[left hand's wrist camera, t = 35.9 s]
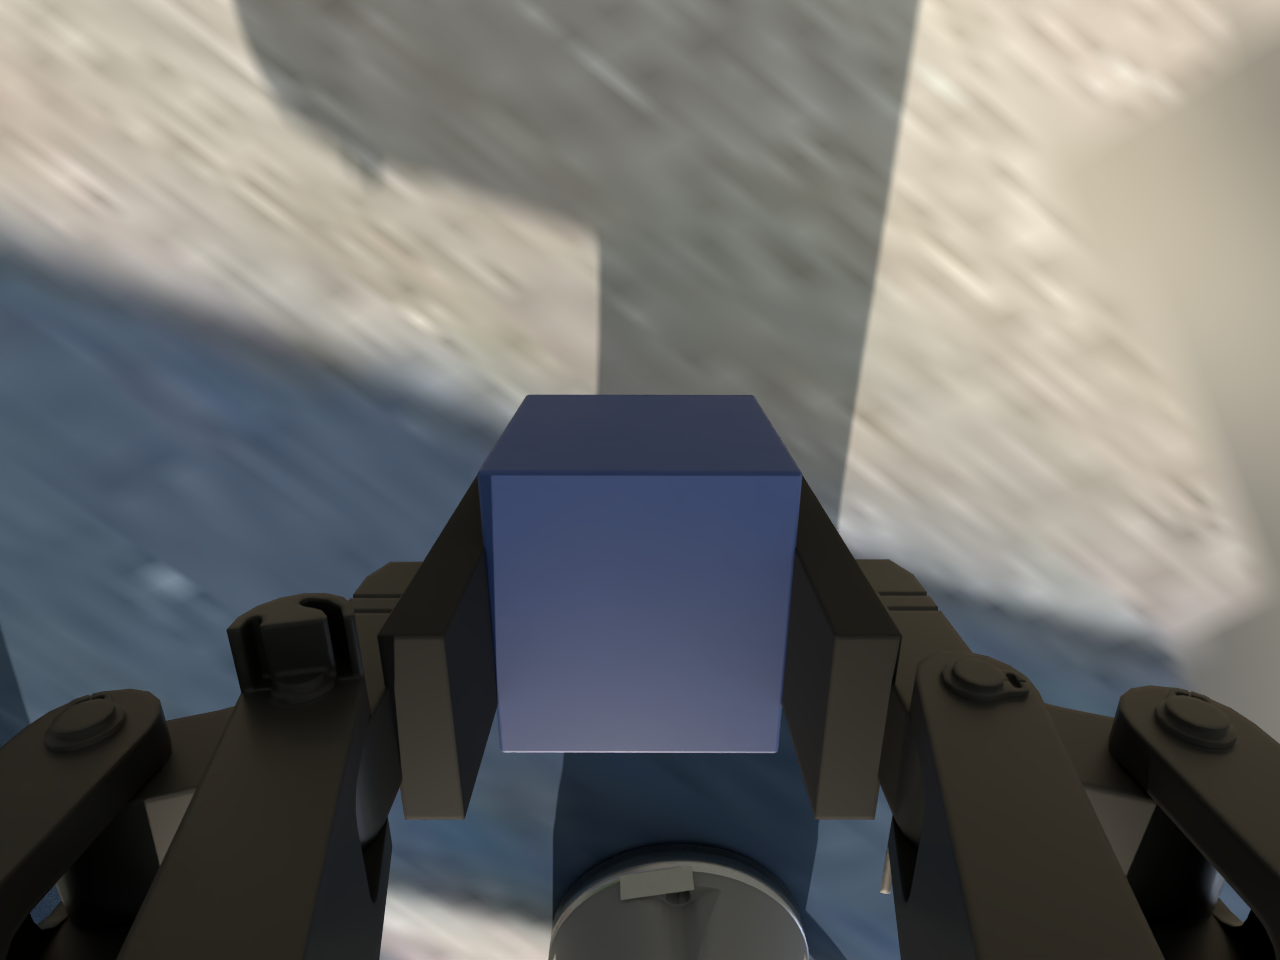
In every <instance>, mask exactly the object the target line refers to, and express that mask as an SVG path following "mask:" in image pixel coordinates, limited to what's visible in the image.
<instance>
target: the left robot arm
mask: <svg viewBox="0 0 1280 960" xmlns="http://www.w3.org/2000/svg"><path fill="white" fill-rule="evenodd" d="M227 634H228V638H229V643H230V647H231V651H232V655H233V659H234V664H235V668H236V672H237V676H238V680H239V685H240V689H241V694H240V697H239V699H238V701H237V703H236V705H235V706H234V707H230V708H226V709H222V710H219V711H214V712H209V713H204V714H199V715H194V716H188V717H183V718H178V719H173V720H168V721H166V720H165V717H164V713H163V710H162V706H161V703H160V700H159V699H158V698H157V697H155V696H154V695H153V694H151V693H150V692H148V691H141V690H135V689H123V690H114V691H103V692H98V693H94V694H92V695H90V696H89V695H86V696H83V697H80V698H77V699H75V700H72V701H71V702H70V703H68V704H65V705H63V706H61V707H59V708H56V709H54V710H52V711H50V712H48V713H47V714H45V715H44V716H42V717H41V718H39V719H37V720H36V721H34V722H33V723H31V724H30V725H28V726H27V727H25V728H24V729H23V730H22V731H21V732H19V733H18V734H17V735H16V736H14V737H13V738H12V739H11V740H10V741H8V742H7V743H6V744H5V745H4V746H2V747H1V748H0V960H379V957H380V948H381V939H382V931H383V922H384V914H385V905H386V896H387V888H388V879H389V870H390V862H391V853H392V841H391V834H390V828H389V822H388V814H389V811H390V809H391V807H392V804H393V802H394V799H395V797H396V795H397V792H398V790H399V787H400V790H401V797H402V803H403V810H404V816H405V820H429V819H465V816H466V812H467V809H468V805H469V802H470V798H471V795H472V791H473V788H474V785H475V781H476V778H477V774H478V771H479V767H480V764H481V760H482V757H483V753H484V750H485V747H486V743H487V740H488V736H489V733H490V729H491V726H492V722H493V719H494V715H495V712H496V708H497V705H498V702H497V690H496V678H495V666H494V655H493V643H492V631H491V619H490V608H489V596H488V584H487V572H486V560H485V549H484V547H483V536H482V524H481V512H480V500H479V488H478V476H476V478H475V479H474V481H473V483H472V484H471V486H470V487H469V489H468V491H467V492H466V494H465V495H464V497H463V499H462V500H461V502H460V503H459V505H458V507H457V508H456V510H455V511H454V513H453V515H452V516H451V518H450V520H449V521H448V523H447V524H446V526H445V528H444V529H443V531H442V532H441V534H440V536H439V537H438V539H437V540H436V542H435V544H434V545H433V547H432V548H431V550H430V552H429V553H428V555H427V556H426V558H425V560H424V561H423V562H390V563H388V564H386V565H385V566H383V567H382V568H380V569H378V570H377V571H375V572H374V573H372V574H371V575H369V576H367V577H366V578H365V580H364V581H363V582H362V584H361V585H360V586H359V588H358V589H357V590H356V592H355V593H354V594H353V598H350V600H349V601H348V600H346V599H345V598H344V597H341V596H337V595H332V594H328V593H303V594H298V595H293V596H288V597H282V598H278V599H276V600H273V601H270V602H267V603H264V604H262V605H259V606H257V607H255V608H253V609H251V610H250V611H248V612H246V613H245V614H243V615H241V616H239V617H238V618H237V619H236V620H235V621H234V622H233V623H232V624H231V625H230V626H229V628H228V629H227ZM782 707H783V710H784V714H785V717H786V721H787V724H788V727H789V731H790V734H791V738H792V741H793V745H794V748H795V752H796V755H797V759H798V762H799V765H800V769H801V772H802V776H803V779H804V783H805V786H806V790H807V793H808V797H809V800H810V804H811V807H812V810H813V814H814V817H815V819H840V820H875V813H876V806H877V800H878V793H879V787H880V785H881V787H882V790H883V792H884V795H885V797H886V799H887V802H888V804H889V806H890V809H891V811H892V814H893V816H892V822H891V828H890V834H889V840H888V847H887V853H886V859H885V865H884V871H883V877H882V884H881V891H880V892H881V893H886V894H890V890H891V885H892V886H893V895H894V903H895V912H896V920H897V929H898V938H899V946H900V955H901V960H1280V744H1279V743H1278V742H1277V741H1275V740H1274V739H1273V738H1272V737H1270V736H1269V735H1268V734H1267V733H1266V732H1264V731H1263V730H1262V729H1261V728H1259V727H1258V726H1257V725H1256V724H1254V723H1253V722H1251V721H1250V720H1248V719H1247V718H1245V717H1244V716H1242V715H1241V714H1239V713H1238V712H1236V711H1235V710H1233V709H1231V708H1229V707H1227V706H1225V705H1223V704H1220V703H1218V702H1216V701H1214V700H1211V699H1210V698H1209V697H1207V696H1205V695H1201V694H1198V693H1195V692H1192V691H1191V692H1188V690H1184V689H1179V688H1170V687H1160V686H1144V687H1137V688H1131V689H1130V690H1128V691H1127V692H1126V693H1125V694H1123V695H1122V696H1121V697H1120V700H1119V704H1118V707H1117V711H1116V714H1115V718H1112V717H1107V716H1102V715H1097V714H1092V713H1087V712H1082V711H1077V710H1072V709H1067V708H1062V707H1058V706H1054V705H1050V704H1046V703H1044V702H1043V700H1042V698H1041V695H1040V693H1039V691H1038V690H1037V689H1036V688H1035V686H1034V685H1033V684H1032V683H1031V681H1030V680H1029V679H1028V678H1027V677H1026V676H1024V675H1023V674H1022V673H1020V672H1019V671H1017V670H1016V669H1014V668H1013V667H1011V666H1010V665H1007V664H1005V663H1003V662H1000V661H998V660H995V659H993V658H991V657H988V656H984V655H979V654H975V653H972V651H971V650H970V649H969V647H968V646H967V645H966V644H965V642H964V641H963V640H962V638H961V637H960V636H959V634H958V633H957V632H956V630H955V629H954V628H953V626H952V625H951V624H950V622H949V621H948V620H947V618H946V617H945V616H944V614H943V613H942V612H941V611H938V607H937V605H936V604H935V603H934V601H933V600H932V599H931V597H930V596H927V592H926V591H925V589H924V588H923V587H922V585H921V584H920V583H919V582H918V580H917V579H916V578H915V576H914V575H913V574H911V573H910V572H908V571H907V570H905V569H903V568H902V567H900V566H899V565H897V564H895V563H894V562H892V561H891V560H889V559H854V557H853V556H852V554H851V552H850V551H849V549H848V548H847V546H846V544H845V543H844V541H843V540H842V538H841V536H840V535H839V533H838V532H837V530H836V528H835V527H834V525H833V524H832V522H831V520H830V519H829V517H828V516H827V514H826V512H825V511H824V509H823V507H822V506H821V504H820V503H819V501H818V499H817V498H816V496H815V495H814V493H813V491H812V490H811V488H810V487H809V485H808V483H807V482H806V480H805V479H804V477H803V475H802V484H801V495H800V507H799V518H798V530H797V541H796V548H795V555H794V567H793V579H792V590H791V602H790V614H789V626H788V637H787V649H786V661H785V673H784V685H783V696H782ZM1225 880H1226V881H1227V883H1228V884H1229V885H1230V886H1231V887H1232V888H1233V889H1234V890H1235V892H1236V893H1237V894H1238V895H1239V896H1240V897H1241V898H1242V899H1243V900H1244V902H1245V903H1246V904H1247V905H1248V906H1249V907H1250V908H1251V911H1250V913H1249V915H1248V918H1247V919H1246V921H1245V922H1242V921H1241V920H1240V919H1238V918H1237V917H1236V916H1235V915H1234V914H1233V913H1232V912H1231V911H1230V910H1229V909H1228V908H1227V906H1226V905H1225V904H1224V903H1223V902H1222V901H1221V900H1220V898H1219V896H1220V893H1221V891H1222V888H1223V885H1224V883H1225ZM54 885H56V887H57V890H58V892H59V895H60V897H61V900H62V901H61V902H60V903H59V904H58V905H57V907H56V908H55V909H54V910H53V911H52V912H51V914H50V915H49V916H47V917H46V918H45V919H44V920H43V921H41V922H40V923H39V924H38V925H36V924H35V923H34V922H33V920H32V917H31V915H30V912H31V911H32V910H33V909H34V907H35V906H36V905H37V904H38V903H39V902H40V901H41V900H42V898H43V897H44V896H45V895H46V894H47V893H48V892H49V891H50V889H51V888H52V887H53V886H54ZM548 960H809V952H808V945H807V941H806V936H805V932H804V928H803V923H802V919H801V915H800V912H799V909H798V906H797V904H796V902H795V900H794V898H793V896H792V895H791V893H790V892H789V890H788V889H787V888H786V886H785V885H784V884H783V883H782V882H781V881H780V880H779V879H778V878H777V877H776V876H775V875H773V874H772V873H771V872H770V871H769V870H767V869H766V868H764V867H763V866H761V865H760V864H758V863H756V862H754V861H752V860H750V859H748V858H746V857H744V856H741V855H739V854H736V853H733V852H730V851H728V850H724V849H720V848H716V847H710V846H704V845H696V844H662V845H655V846H648V847H644V848H639V849H635V850H632V851H628V852H625V853H622V854H620V855H617V856H614V857H612V858H610V859H608V860H606V861H604V862H602V863H600V864H599V865H597V866H595V867H594V868H592V869H591V870H589V871H588V872H587V873H585V874H584V875H583V876H582V877H581V878H579V879H578V880H577V881H576V882H575V883H574V884H573V885H572V886H571V888H570V889H569V890H568V891H567V893H566V894H565V895H564V897H563V898H562V900H561V902H560V904H559V906H558V908H557V911H556V913H555V916H554V920H553V926H552V934H551V942H550V950H549V959H548Z"/></svg>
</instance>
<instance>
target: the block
mask: <svg viewBox="0 0 1280 960" xmlns="http://www.w3.org/2000/svg"><path fill="white" fill-rule="evenodd" d="M477 476H478V488H479V500H480V512H481V524H482V536H483V547H484V549H485V560H486V572H487V584H488V596H489V608H490V619H491V631H492V643H493V655H494V666H495V678H496V690H497V702H498V705H497V715H498V727H499V739H500V749H501V751H502V752H603V753H776V752H777V751H778V748H779V737H780V725H781V714H782V696H783V685H784V673H785V661H786V649H787V637H788V626H789V614H790V602H791V590H792V579H793V567H794V555H795V548H796V541H797V530H798V518H799V507H800V495H801V484H802V473H801V471H800V469H799V468H798V466H797V464H796V463H795V461H794V460H793V458H792V456H791V455H790V453H789V452H788V450H787V448H786V447H785V445H784V444H783V442H782V440H781V439H780V437H779V436H778V434H777V432H776V431H775V429H774V428H773V426H772V425H771V423H770V421H769V420H768V418H767V417H766V415H765V413H764V412H763V410H762V409H761V407H760V405H759V404H758V402H757V401H756V399H755V397H754V396H752V395H527V396H526V397H525V399H524V400H523V402H522V404H521V405H520V407H519V408H518V410H517V411H516V413H515V415H514V416H513V418H512V419H511V421H510V422H509V424H508V426H507V427H506V429H505V430H504V432H503V433H502V435H501V437H500V438H499V440H498V441H497V443H496V444H495V446H494V448H493V449H492V451H491V452H490V454H489V455H488V457H487V459H486V460H485V462H484V463H483V465H482V466H481V468H480V470H479V471H478V474H477Z"/></svg>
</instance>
